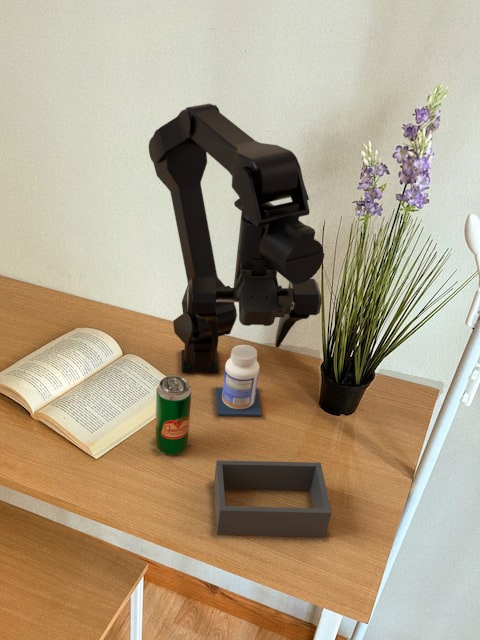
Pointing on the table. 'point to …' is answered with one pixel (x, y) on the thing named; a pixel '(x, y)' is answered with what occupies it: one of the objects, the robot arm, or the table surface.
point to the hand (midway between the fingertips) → (246, 345)
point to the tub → (271, 518)
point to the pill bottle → (241, 377)
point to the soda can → (172, 415)
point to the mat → (227, 411)
